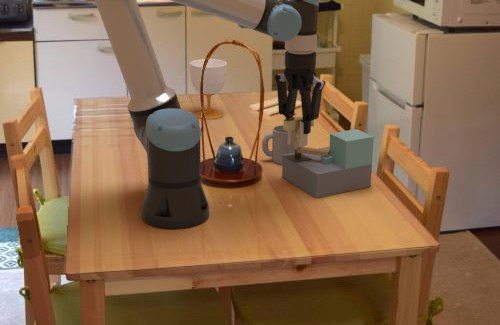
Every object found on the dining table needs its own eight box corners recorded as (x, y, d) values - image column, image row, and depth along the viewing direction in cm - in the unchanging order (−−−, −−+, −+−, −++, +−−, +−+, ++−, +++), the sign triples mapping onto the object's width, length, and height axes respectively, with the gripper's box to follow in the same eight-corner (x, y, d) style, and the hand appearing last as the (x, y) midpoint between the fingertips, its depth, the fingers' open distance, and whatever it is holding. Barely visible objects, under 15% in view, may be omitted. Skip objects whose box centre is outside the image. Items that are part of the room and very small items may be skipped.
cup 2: (300, 164, 215) (301, 132, 212) (263, 165, 214) (263, 133, 211) (296, 155, 222) (297, 124, 219) (260, 156, 221) (260, 125, 218)
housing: (314, 198, 193) (315, 174, 191) (280, 177, 206) (280, 154, 204) (370, 186, 201) (372, 163, 198) (334, 167, 214) (335, 144, 212)
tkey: (300, 167, 195) (301, 127, 191) (282, 158, 201) (283, 119, 197) (332, 161, 199) (334, 121, 196) (313, 152, 205) (315, 114, 202)
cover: (336, 170, 194) (337, 142, 191) (320, 162, 199) (321, 135, 197) (372, 163, 198) (373, 136, 196) (355, 155, 204) (356, 129, 202)
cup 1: (231, 111, 263) (231, 59, 257) (221, 121, 252) (221, 68, 246) (196, 109, 265) (195, 57, 260) (185, 119, 255) (184, 65, 249)
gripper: (337, 52, 191) (332, 146, 199) (282, 44, 200) (279, 134, 208) (320, 57, 186) (316, 154, 193) (264, 48, 194) (262, 142, 202)
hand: (297, 144), depth 201 cm, fingers closed on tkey, 3 cm apart
